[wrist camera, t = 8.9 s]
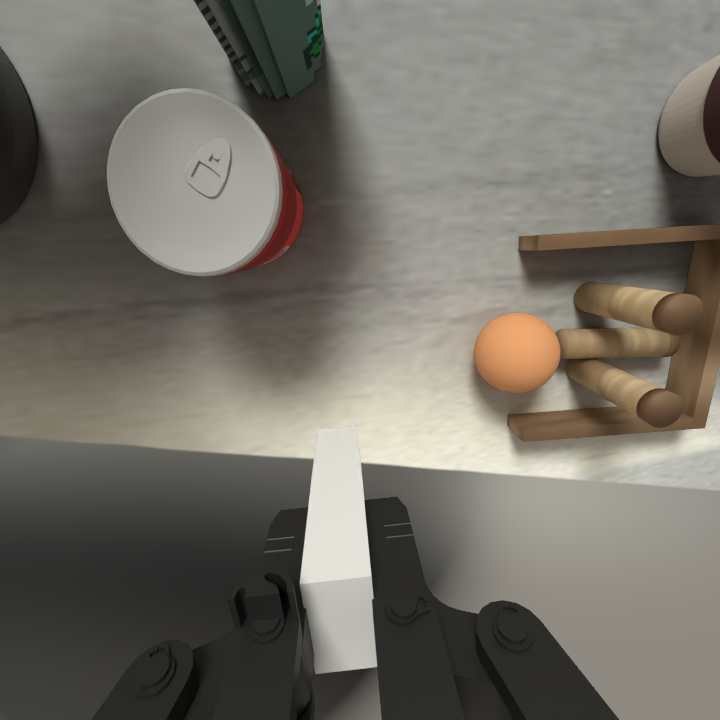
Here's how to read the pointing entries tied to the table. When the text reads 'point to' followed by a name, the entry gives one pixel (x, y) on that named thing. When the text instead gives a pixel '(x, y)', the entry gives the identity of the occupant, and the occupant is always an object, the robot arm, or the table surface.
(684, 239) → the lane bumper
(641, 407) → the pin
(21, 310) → the table surface
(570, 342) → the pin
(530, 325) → the ball
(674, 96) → the coffee cup
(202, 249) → the canned food
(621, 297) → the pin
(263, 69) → the can
